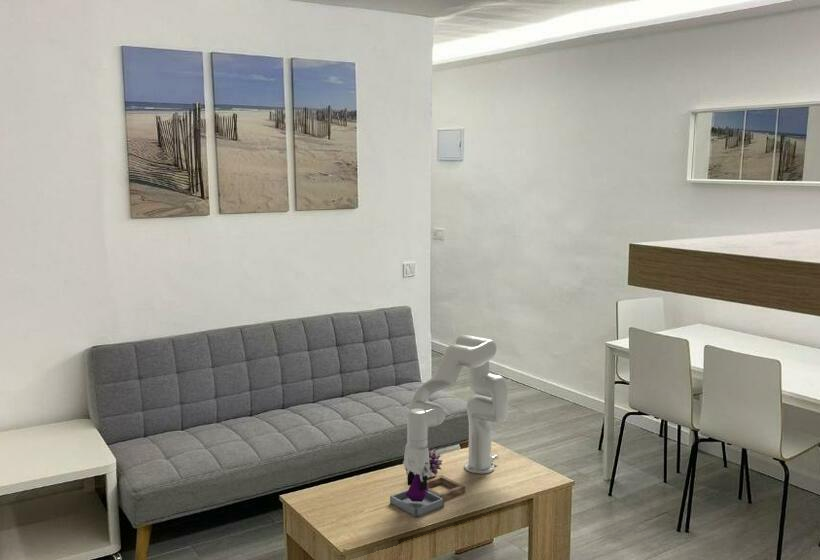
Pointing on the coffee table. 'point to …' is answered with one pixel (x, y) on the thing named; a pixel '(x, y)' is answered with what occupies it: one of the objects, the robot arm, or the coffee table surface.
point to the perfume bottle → (416, 490)
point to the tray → (417, 503)
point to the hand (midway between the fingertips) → (417, 486)
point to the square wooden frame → (448, 482)
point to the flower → (434, 461)
